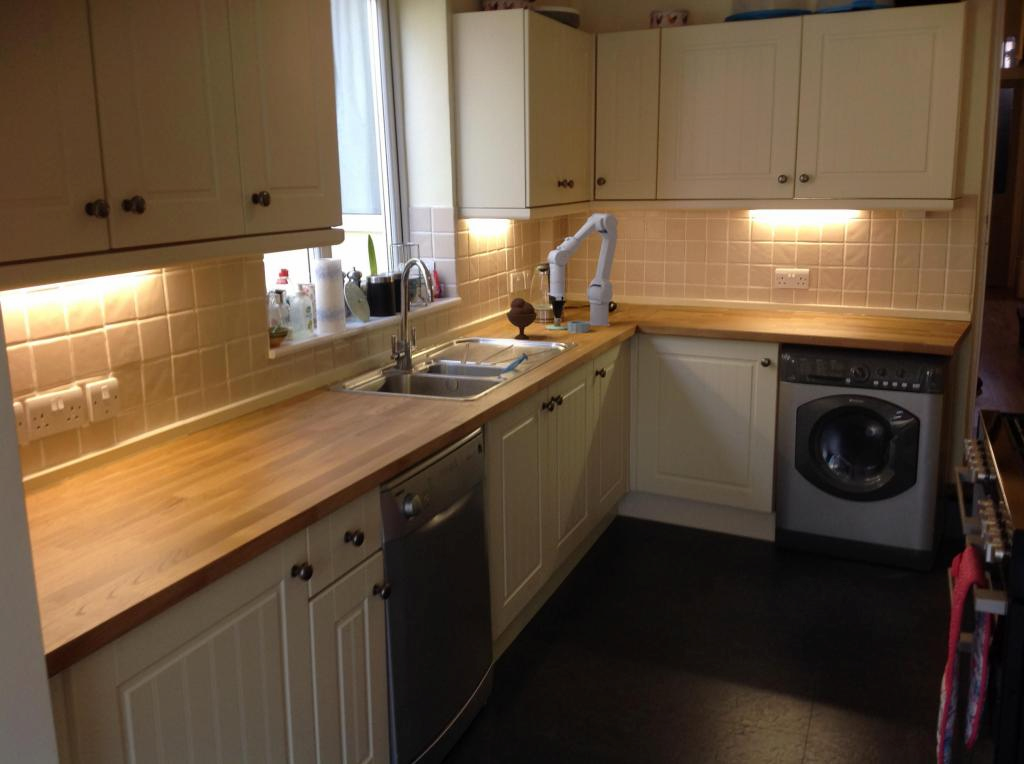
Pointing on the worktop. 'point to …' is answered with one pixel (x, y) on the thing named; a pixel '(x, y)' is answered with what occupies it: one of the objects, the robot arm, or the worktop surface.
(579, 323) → the bowl
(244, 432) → the worktop surface
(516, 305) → the ice cream bowl
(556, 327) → the lid
